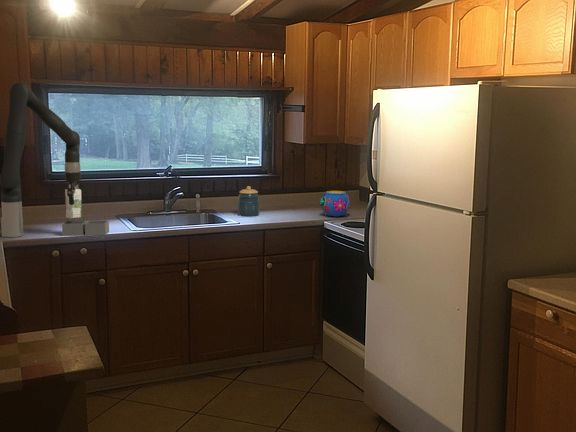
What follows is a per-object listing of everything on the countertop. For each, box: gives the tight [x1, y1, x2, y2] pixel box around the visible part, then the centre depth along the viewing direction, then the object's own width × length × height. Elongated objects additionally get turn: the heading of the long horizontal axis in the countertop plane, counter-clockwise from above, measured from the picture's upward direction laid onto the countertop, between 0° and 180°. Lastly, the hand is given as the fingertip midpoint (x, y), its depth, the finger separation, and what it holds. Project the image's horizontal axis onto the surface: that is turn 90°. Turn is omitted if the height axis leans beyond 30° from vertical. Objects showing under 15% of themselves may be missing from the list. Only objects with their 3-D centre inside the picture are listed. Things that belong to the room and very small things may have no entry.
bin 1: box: [61, 220, 88, 237], centre depth 330 cm, size 10×10×6 cm
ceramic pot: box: [319, 190, 351, 218], centre depth 392 cm, size 18×18×15 cm
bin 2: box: [84, 219, 110, 237], centre depth 331 cm, size 10×10×6 cm
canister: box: [237, 185, 260, 217], centre depth 394 cm, size 13×13×18 cm
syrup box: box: [64, 188, 82, 219], centre depth 328 cm, size 6×6×14 cm
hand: (73, 203), depth 328 cm, fingers closed on syrup box, 8 cm apart
